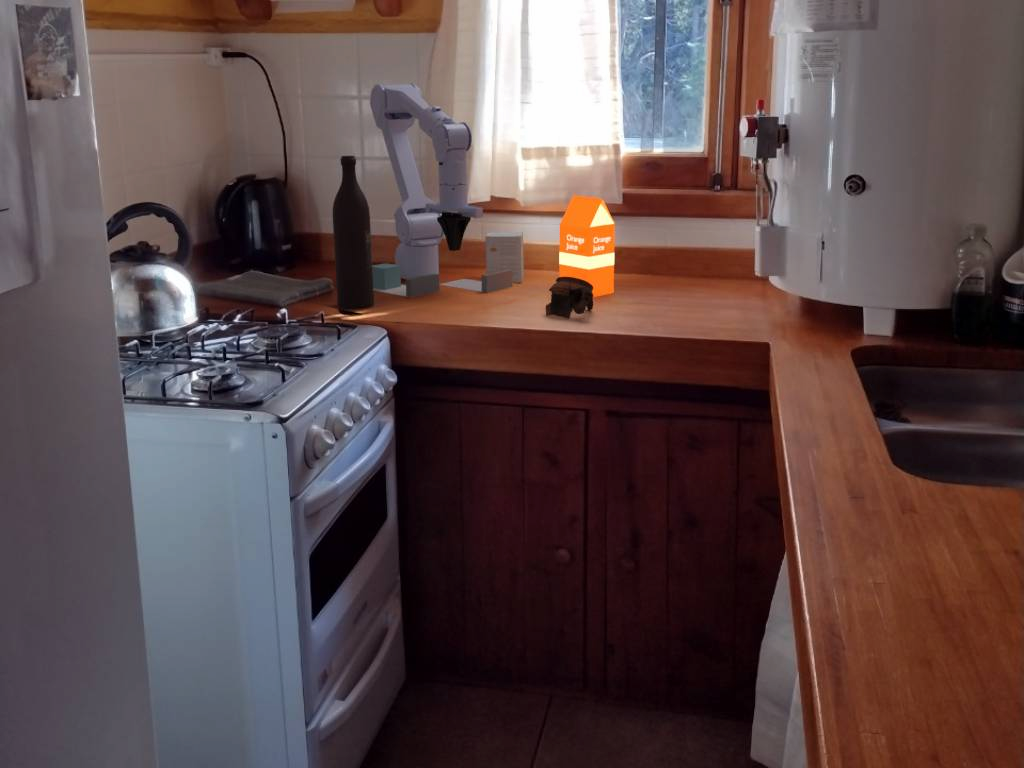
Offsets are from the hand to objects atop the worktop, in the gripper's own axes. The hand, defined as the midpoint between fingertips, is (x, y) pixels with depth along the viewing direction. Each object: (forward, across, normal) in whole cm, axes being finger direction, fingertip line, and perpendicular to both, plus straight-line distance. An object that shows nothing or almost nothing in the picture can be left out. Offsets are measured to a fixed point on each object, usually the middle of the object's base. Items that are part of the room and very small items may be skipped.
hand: (454, 250), depth 220 cm
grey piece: (+9, -10, -8) cm, 16 cm away
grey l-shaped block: (+9, +1, +5) cm, 11 cm away
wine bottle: (+10, -4, -24) cm, 26 cm away
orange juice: (+10, +20, +19) cm, 29 cm away
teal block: (+8, -13, -8) cm, 17 cm away
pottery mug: (+10, +30, +1) cm, 32 cm away
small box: (+10, -2, +18) cm, 21 cm away
